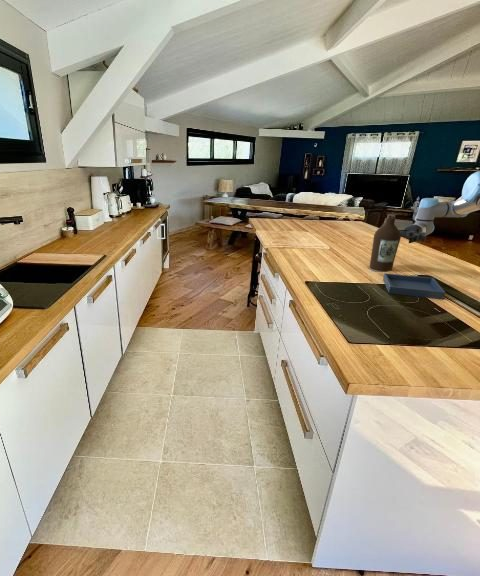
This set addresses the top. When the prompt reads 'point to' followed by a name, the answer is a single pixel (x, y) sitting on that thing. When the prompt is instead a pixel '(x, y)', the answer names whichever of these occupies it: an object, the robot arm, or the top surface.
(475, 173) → the robot arm
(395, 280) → the tray
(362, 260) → the top surface
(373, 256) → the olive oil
